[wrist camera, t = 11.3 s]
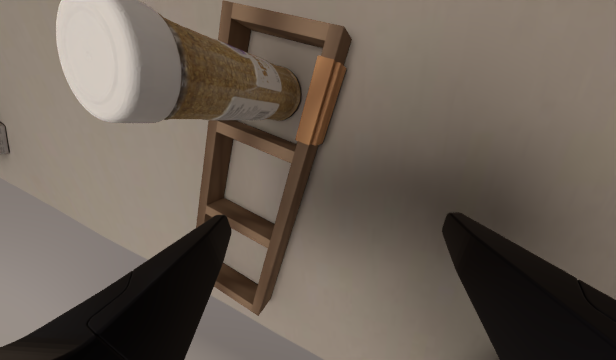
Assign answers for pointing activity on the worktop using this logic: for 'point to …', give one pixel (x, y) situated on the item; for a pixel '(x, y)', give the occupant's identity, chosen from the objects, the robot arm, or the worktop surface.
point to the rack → (270, 143)
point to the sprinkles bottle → (163, 68)
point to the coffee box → (3, 140)
